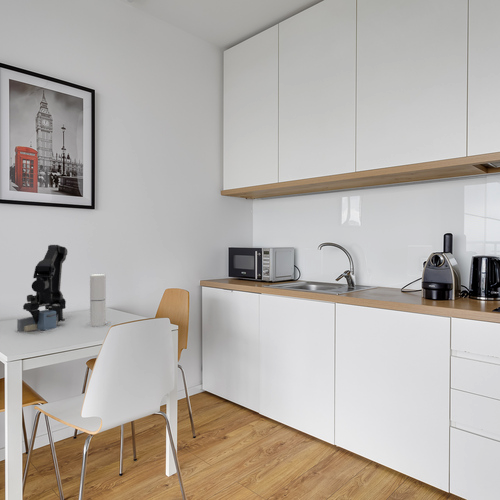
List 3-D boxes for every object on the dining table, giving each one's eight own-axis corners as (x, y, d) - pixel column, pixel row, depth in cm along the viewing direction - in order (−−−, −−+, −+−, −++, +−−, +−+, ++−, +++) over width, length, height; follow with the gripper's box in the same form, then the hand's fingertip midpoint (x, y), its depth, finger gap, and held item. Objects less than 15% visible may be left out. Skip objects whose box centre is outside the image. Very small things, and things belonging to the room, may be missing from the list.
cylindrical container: (91, 326, 191) (91, 275, 190) (88, 324, 197) (88, 274, 196) (107, 325, 195) (106, 275, 194) (103, 322, 201) (103, 274, 200)
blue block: (46, 326, 192) (46, 309, 192) (57, 327, 188) (57, 311, 188) (33, 328, 186) (33, 312, 186) (45, 330, 183) (45, 313, 182)
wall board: (55, 322, 199) (55, 312, 199) (60, 323, 197) (60, 312, 197) (17, 331, 181) (17, 319, 181) (22, 332, 179) (22, 320, 179)
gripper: (50, 286, 199) (51, 316, 199) (15, 290, 182) (15, 324, 182) (66, 287, 194) (66, 318, 194) (31, 292, 177) (31, 326, 178)
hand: (45, 321), depth 187 cm, fingers open, 9 cm apart
